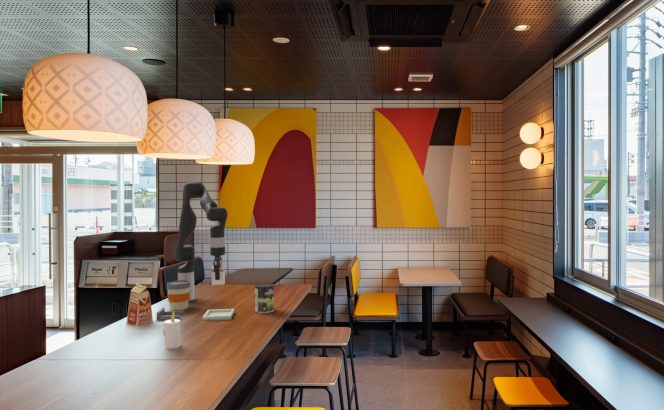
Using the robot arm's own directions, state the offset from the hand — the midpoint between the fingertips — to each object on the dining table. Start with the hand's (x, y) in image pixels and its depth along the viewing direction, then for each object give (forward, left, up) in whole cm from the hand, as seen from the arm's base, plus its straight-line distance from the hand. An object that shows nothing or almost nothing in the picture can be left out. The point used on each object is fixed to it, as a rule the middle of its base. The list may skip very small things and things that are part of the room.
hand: (218, 278), depth 222 cm
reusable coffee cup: (-19, -25, -20) cm, 37 cm away
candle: (+43, -12, -20) cm, 49 cm away
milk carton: (+7, -37, -20) cm, 43 cm away
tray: (0, 0, -20) cm, 20 cm away
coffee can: (-8, +23, -20) cm, 31 cm away
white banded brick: (0, 0, -3) cm, 3 cm away
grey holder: (0, -24, -20) cm, 31 cm away
